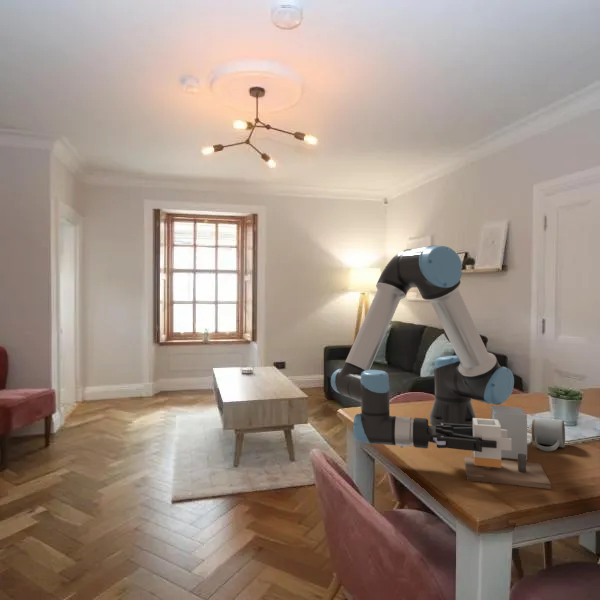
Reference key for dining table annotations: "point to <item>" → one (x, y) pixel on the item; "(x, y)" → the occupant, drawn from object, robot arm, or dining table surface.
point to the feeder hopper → (512, 428)
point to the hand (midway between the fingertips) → (508, 439)
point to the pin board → (509, 473)
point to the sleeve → (489, 430)
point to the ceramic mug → (548, 433)
